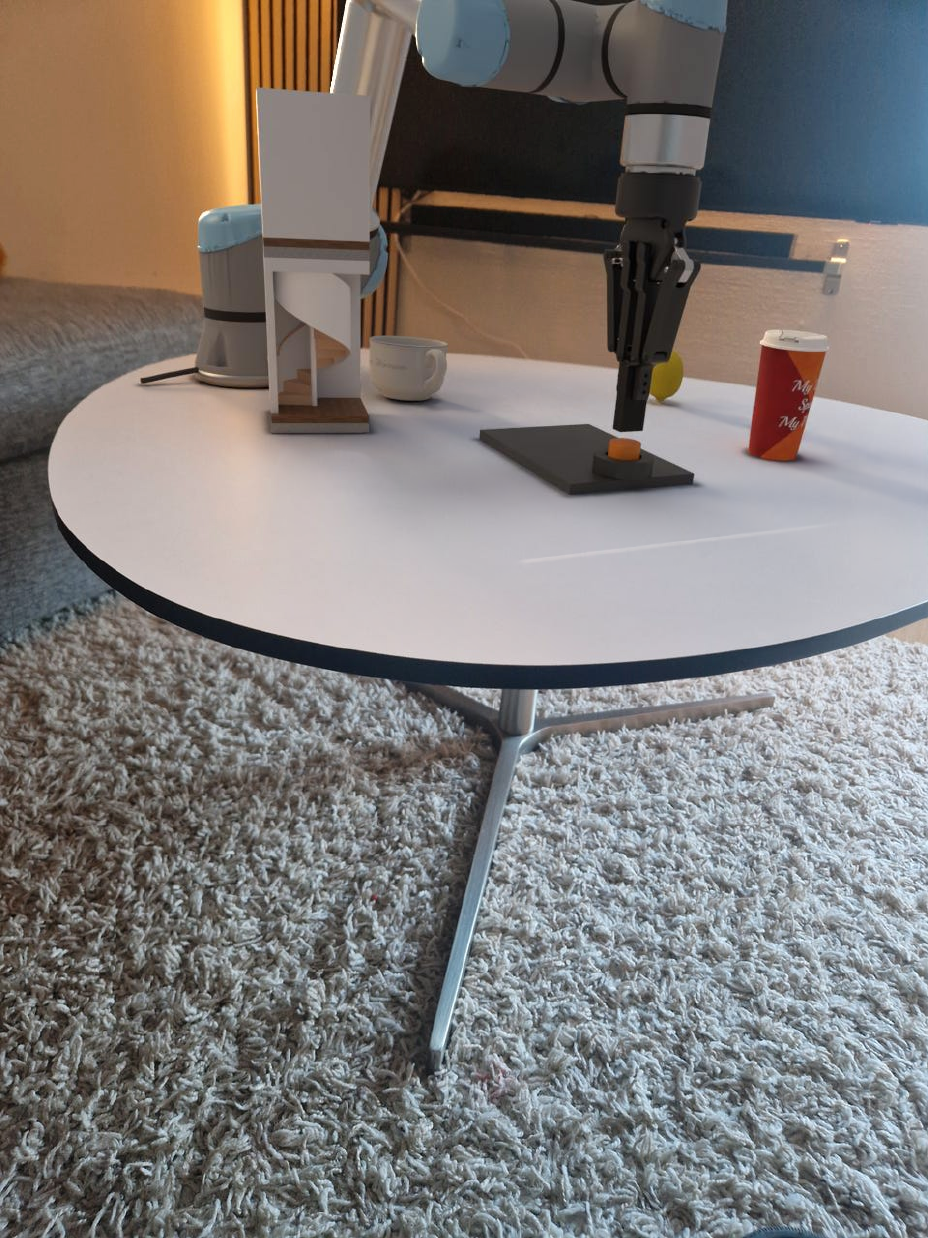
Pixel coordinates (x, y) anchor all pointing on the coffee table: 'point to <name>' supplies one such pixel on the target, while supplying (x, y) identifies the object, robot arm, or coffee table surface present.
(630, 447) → the button
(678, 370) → the lemon
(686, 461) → the coffee table surface
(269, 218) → the spiral staircase model
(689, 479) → the scale
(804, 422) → the paper cup
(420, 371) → the teacup
